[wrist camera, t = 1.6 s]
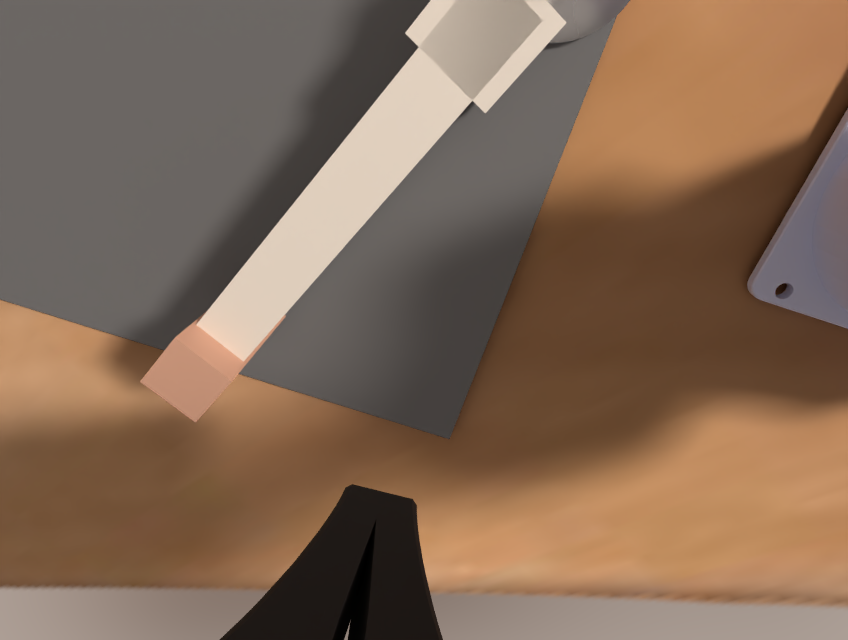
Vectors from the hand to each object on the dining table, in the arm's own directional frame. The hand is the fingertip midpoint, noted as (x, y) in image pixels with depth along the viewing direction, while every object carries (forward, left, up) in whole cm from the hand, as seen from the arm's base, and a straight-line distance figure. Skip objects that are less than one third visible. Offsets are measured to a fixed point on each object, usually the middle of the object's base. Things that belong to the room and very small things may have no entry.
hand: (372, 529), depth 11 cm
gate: (+3, -4, -8) cm, 10 cm away
